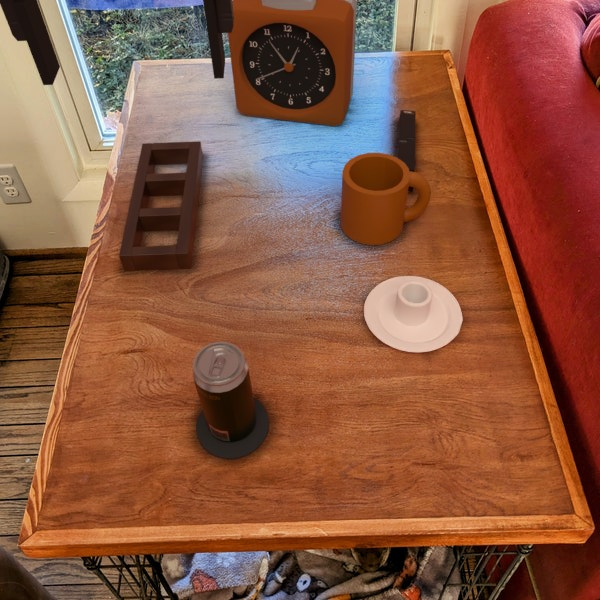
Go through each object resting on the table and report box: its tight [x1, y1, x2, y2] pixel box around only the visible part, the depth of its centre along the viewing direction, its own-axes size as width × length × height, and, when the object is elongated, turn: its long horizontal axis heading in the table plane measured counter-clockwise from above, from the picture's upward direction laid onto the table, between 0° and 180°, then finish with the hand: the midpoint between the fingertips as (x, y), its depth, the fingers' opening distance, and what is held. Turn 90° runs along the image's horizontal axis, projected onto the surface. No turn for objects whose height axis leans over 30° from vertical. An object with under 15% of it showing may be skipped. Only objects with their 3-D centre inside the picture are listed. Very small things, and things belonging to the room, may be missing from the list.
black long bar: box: [396, 109, 416, 193], centre depth 97 cm, size 18×3×3 cm, turn 173°
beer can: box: [191, 341, 256, 443], centre depth 64 cm, size 5×5×12 cm
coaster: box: [195, 396, 270, 460], centre depth 69 cm, size 8×8×1 cm
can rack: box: [118, 140, 204, 272], centre depth 90 cm, size 9×24×3 cm, turn 2°
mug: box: [340, 152, 432, 246], centre depth 85 cm, size 9×12×9 cm
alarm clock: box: [227, 0, 358, 127], centre depth 99 cm, size 18×9×21 cm, turn 77°
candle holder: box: [363, 275, 464, 353], centre depth 76 cm, size 12×12×4 cm
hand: (136, 73), depth 51 cm, fingers open, 13 cm apart
